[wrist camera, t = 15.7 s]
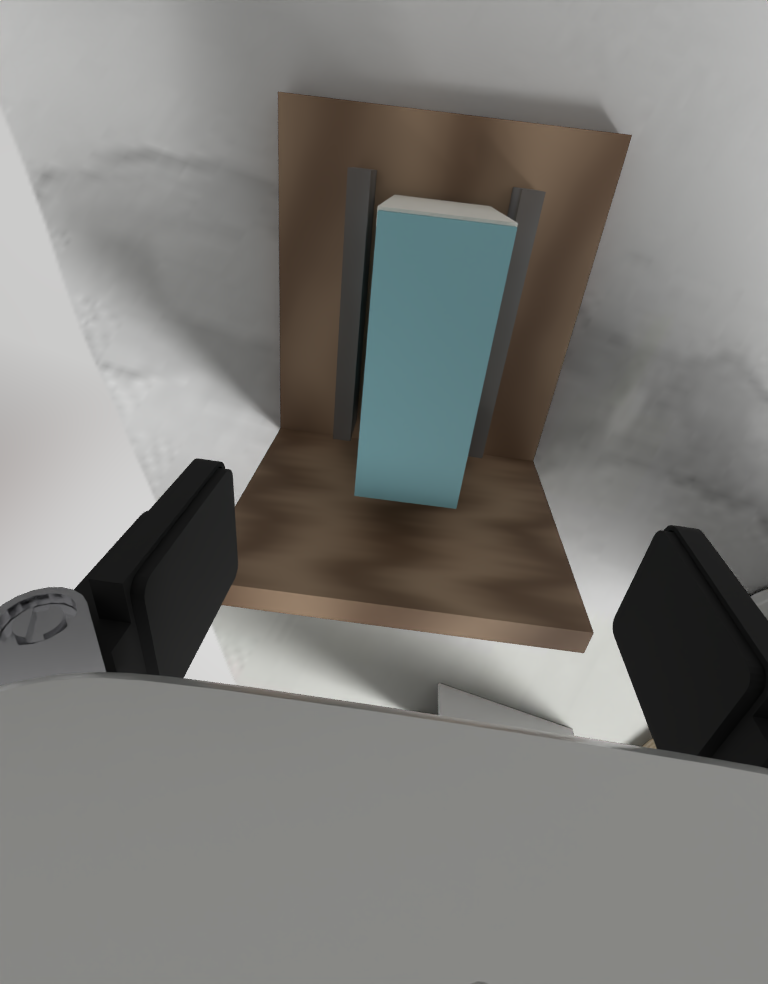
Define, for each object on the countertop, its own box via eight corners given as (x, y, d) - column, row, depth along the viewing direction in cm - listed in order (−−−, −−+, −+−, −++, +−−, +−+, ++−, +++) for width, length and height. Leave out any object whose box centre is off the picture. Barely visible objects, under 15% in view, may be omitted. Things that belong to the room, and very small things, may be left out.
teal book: (489, 205, 25) (519, 224, 16) (450, 415, 31) (457, 509, 22) (395, 194, 25) (376, 206, 16) (374, 406, 31) (352, 495, 22)
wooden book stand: (621, 136, 24) (849, 97, 11) (524, 465, 34) (584, 652, 21) (285, 95, 24) (114, 7, 11) (286, 434, 34) (195, 601, 21)
